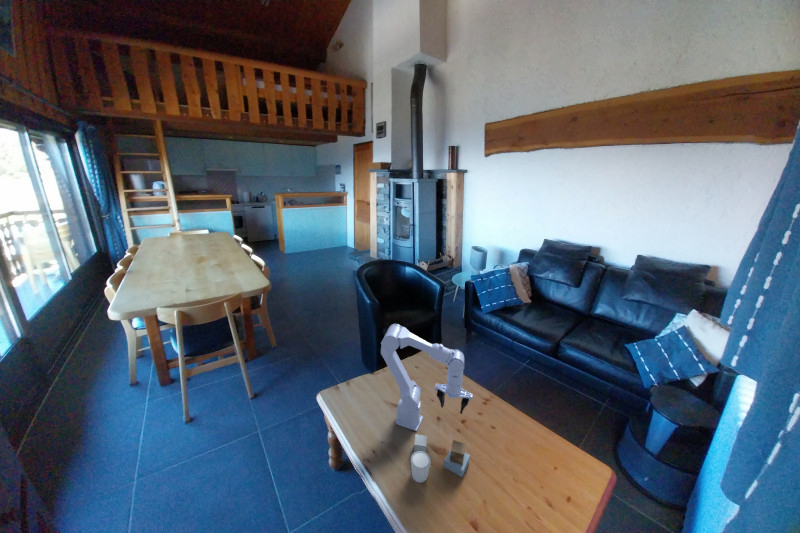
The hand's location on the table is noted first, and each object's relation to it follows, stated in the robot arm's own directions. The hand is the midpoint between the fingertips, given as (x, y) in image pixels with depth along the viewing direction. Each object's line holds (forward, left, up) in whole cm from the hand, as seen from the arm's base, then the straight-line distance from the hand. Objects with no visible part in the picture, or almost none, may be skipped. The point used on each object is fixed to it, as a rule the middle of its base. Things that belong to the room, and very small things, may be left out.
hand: (451, 408), depth 120 cm
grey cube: (-8, -14, -10) cm, 19 cm away
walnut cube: (+6, -14, -7) cm, 17 cm away
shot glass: (-5, -23, -11) cm, 26 cm away
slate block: (+6, -14, -11) cm, 19 cm away
